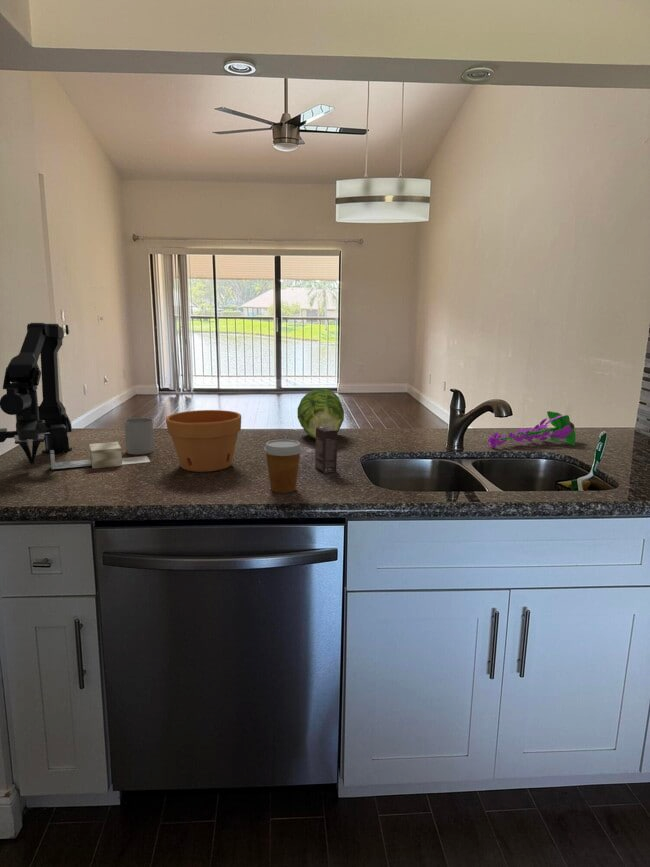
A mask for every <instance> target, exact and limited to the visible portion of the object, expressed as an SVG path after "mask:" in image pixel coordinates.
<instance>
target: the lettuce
mask: <svg viewBox="0 0 650 867" xmlns="http://www.w3.org/2000/svg"><path fill="white" fill-rule="evenodd" d="M298 404H299V405H298V407H297V420H298V422H299V424H300V426H301V427H302V429H303V431H304V432H305V433H306V434H308V435H309V437H311V438H312V439H314V440H316V427H330V428H333V429H335V430H338V432H337V434H338V433H339V432H340V429H341V427H342V425H343V422H344V419H345V410H344V408H343V404H342V401H341V399H340V397H339V396H338V395H337V394H336V393H335V392H334V391H332V390H330V389H327V388H315V389H312V390H311V391H308V392H307V393H306V394H304V396H303V397H302V398H301V400H300V402H299V403H298Z"/></svg>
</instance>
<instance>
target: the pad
mask: <svg viewBox="0 0 650 867" xmlns="http://www.w3.org/2000/svg"><path fill="white" fill-rule="evenodd" d="M144 463H147V464H148V463H151V460H150V459H149V457H148V456H147V455H141V456H132V457H122V466H125V465H134V464H144Z"/></svg>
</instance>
